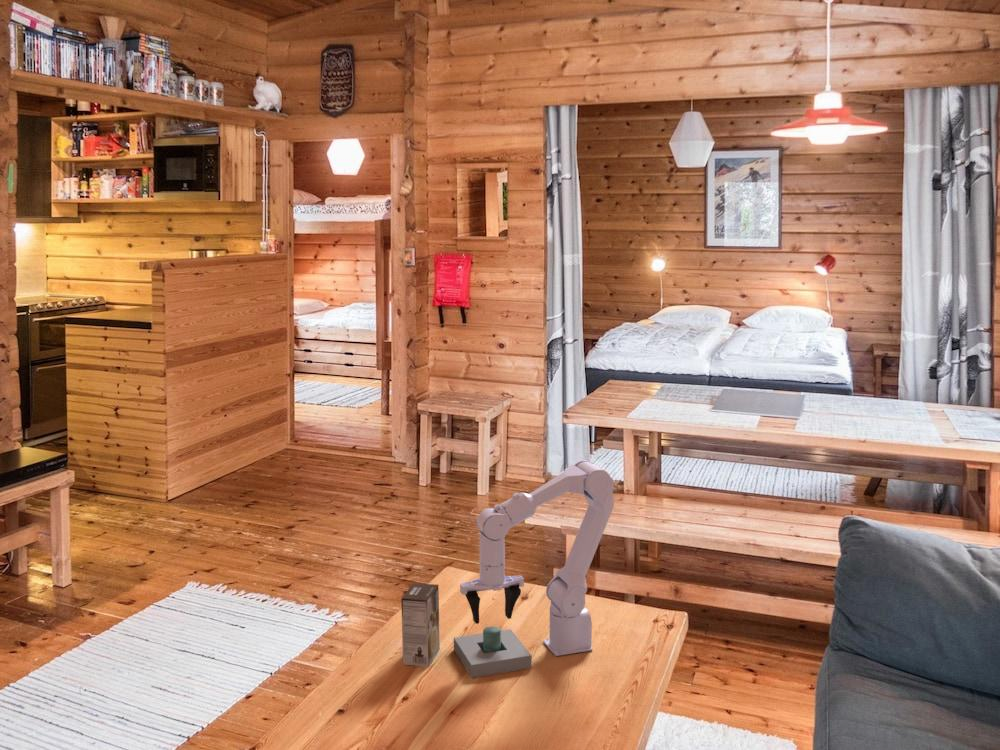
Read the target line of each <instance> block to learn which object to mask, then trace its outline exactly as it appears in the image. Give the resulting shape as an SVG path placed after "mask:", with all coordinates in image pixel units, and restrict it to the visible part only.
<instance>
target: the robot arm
mask: <svg viewBox="0 0 1000 750" xmlns="http://www.w3.org/2000/svg"><path fill="white" fill-rule="evenodd" d="M614 486H615V483H614V481H613V478H612V477H611V475H610V474H609V472H608V471H606V470H604V469H602V468H600V467H598V466H597V465H595V464H594V463H593V462H591V461H590V460H586V459H584V460H583V459H582V460H578V461H577V462H576V463H575V464H571V465H569V466H568V467H566V469H565V470H564V471H563V472H562V473H559V474H558V475H556V476H555V477H554V478H552V479H550V480H548V481H547V482H546V483H544V484H542V485H541V486H539V487H538V488H536V489H534V490H533V491H531V492H530V493H527V492H519V493H518V492H517V491H516V492H514V493H513V494H512V495H511V496H512V497H510V498H508V499H507V500H505V501H504V502H502V503H500V504H495V505H494V506H493V508H492V507H487V508H484V509H483V510H482V511H481V512H480V513H479V514H477V515H478V516H477V519H475V525H476V527H477V529H478V530H479V543H478V544H479V547H478V548H479V550H478V551H479V553H478V554H479V559H478V560H479V567H478V569H479V578H477V579H473V580H469V581H467V582H463V583H462V582H461V583H460V584H459V588H460V589H459V591H460V593H461V595H463V596H464V595H465V598H466V600H467V602H468V604H469V607H470V609H471V613H472V620H473V622H474V623H475V624H476V625H477V624H480V603H481V597H479V593H478V592H485V591H491V590H492V591H501V590H502V589H503V590H504V600H505V603H504V614H505V617H506V618H507V619H508V620H509V619H511V620H512V615H513V611H514V608H515V605H516V603H517V601H518V599H519V597H520V596H521V593H522V591H521V587H523V588H524V587H525V583H524V582H525V578H524V577H523V576H522V575H506V541H505V539H506V538H505V537H506V536H507V534H508V532H509V530H510V529H511V528H513V527H515V526H517V525H518V524H520V523H522V522H524V521H525V520H527V519H529V518H530V517H533V516H534V515H535V514H536V511H537V508H538V507H539V506H542V505H544V504H545V503H548V502H550V501H553V500H554V499H556V498H558V497H560V496H562V495H565V494H566V493H573V494H579V495H583V496H584V498H585V500H586V502H587V504H588V507H587V509H586V512H585V514H584V516H583V519H582V521H581V523H580V526H579V528H578V531H577V534H576V536H575V539H574V541H573V542H572V543H573V544H572V546H571V548H570V550H569V553H568V556H567V558H566V560H565V563H564V566H563V567H561V568H559V569H558V570H557V571H556V573H555V575H554V576H553V578H552V579H550V581H549V582H548V584H547V585H546V589H545V593H546V597H547V598H548V600H549V601H550V607H549V638H546V639H545V638H544V639H543V641H542V642H543V643H544V644H545V645H546V647H547V648H548V649H549V651H550V652H551V653H552V654H553V655H554V656H556V657H560V656H565V655H566V656H567V655H570V654H577V653H584V652H589V651H593V647H592V637H593V636H592V629H593V628H592V625H593V623H592V617H591V614H590V611H589V609H588V608H586V607H585V606H586V593H587V592H588V584H587V578H586V576H587V574H588V572H589V569H590V567H591V564H592V561H593V560H594V556H595V554H596V552H597V549H598V546H599V544H600V543H601V539H602V537H603V534H604V532H605V530H606V526H607V524H608V522H609V519H610V518H611V514H612V512H613V510H614V505H615V504H614V491H613V489H614Z"/></svg>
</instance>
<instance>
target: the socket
mask: <svg viewBox="0 0 1000 750" xmlns="http://www.w3.org/2000/svg"><path fill="white" fill-rule="evenodd" d="M453 651H454V652H455V654H456V655H457V657H458V659H459V660H460V662H461V663H462V665H463V666H464V668H465V670H466V671H467V673H468V674H469V676H470V678H471V679H472V678H473V679H474V678H478V677H479V678H480V677H486V676H492V675H497V674H503V673H509V672H514V671H520V670H521V671H522V670H526V669H532V664H533V663H532V654H531V653H530V652H529V650H528V648H526V646H525V645H524V644H523V642H521V640H520V639H519V637H517V636H516V634H515V633H514V631H513V630H512V629H511V628H510V629H502V630H501V651H497V652H490V653H483V632H482V633H477V634H469V635H463V636H457V637H453Z"/></svg>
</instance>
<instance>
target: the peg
mask: <svg viewBox="0 0 1000 750" xmlns="http://www.w3.org/2000/svg"><path fill="white" fill-rule="evenodd" d="M501 631H502V630H501V628H499V627H498V626H487V627H484V628H483V629H482V633H483V653H490V652H497V651H501Z"/></svg>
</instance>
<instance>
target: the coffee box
mask: <svg viewBox="0 0 1000 750" xmlns="http://www.w3.org/2000/svg"><path fill="white" fill-rule="evenodd" d="M439 586H440V585H439V584H434V583H433V584H431V583H430V584H429V583H414V582H413V583H411V585H410V586H409V587H408V589H407V590H406V592H405V593H404V594H403V596H402V597H401V598H400V600H401V635H402V637H401V638H402V641H401V642H402V664H403V665H404V664H405V665H406V666H414V665H415V667H426V668H429V667H430V665H431V664H432V662H433V661H434V659H435V658H436V655H437V654H438V652H439V651H440V649H441V648H440V606H439V605H440V603H439V599H440V597H439V595H440V594H439ZM405 665H404V666H405Z"/></svg>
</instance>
